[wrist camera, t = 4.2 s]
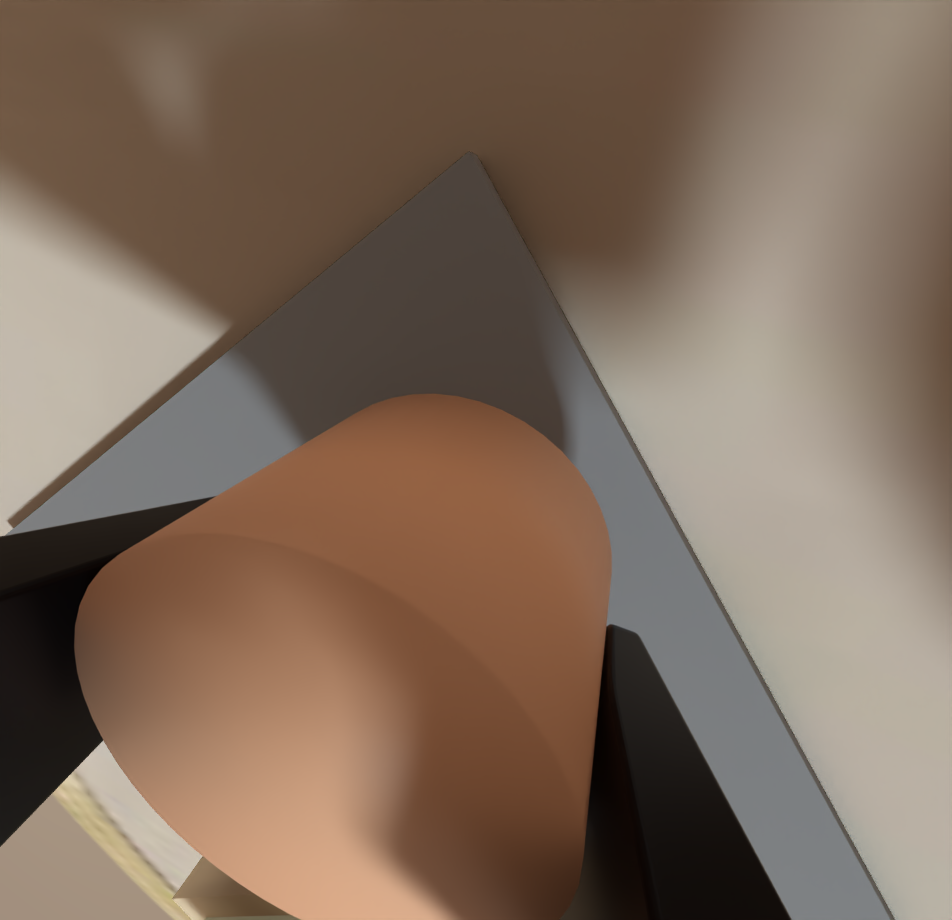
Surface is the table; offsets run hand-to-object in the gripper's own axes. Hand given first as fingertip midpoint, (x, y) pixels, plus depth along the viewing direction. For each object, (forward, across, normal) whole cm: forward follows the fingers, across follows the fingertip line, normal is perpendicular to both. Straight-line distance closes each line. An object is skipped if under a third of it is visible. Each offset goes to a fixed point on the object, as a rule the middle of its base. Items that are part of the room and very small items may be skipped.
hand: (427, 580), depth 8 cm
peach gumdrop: (+1, 0, 0) cm, 1 cm away
